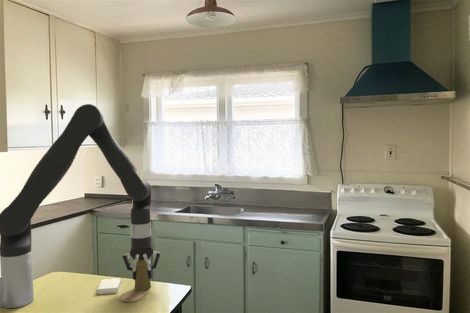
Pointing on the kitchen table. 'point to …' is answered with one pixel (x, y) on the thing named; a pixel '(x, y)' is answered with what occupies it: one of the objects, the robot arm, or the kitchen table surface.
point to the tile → (109, 286)
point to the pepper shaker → (142, 276)
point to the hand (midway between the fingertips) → (142, 279)
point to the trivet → (131, 296)
